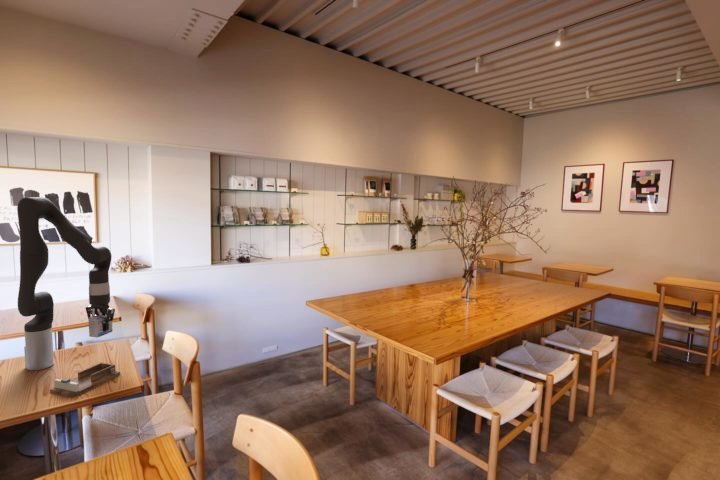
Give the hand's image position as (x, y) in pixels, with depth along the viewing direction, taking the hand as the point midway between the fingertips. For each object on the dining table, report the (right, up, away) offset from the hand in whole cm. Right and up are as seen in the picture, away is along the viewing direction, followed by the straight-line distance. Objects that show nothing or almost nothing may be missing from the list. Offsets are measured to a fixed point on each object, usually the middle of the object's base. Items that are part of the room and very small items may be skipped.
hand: (101, 330), depth 165 cm
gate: (0, -18, -20) cm, 27 cm away
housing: (+2, -19, -12) cm, 22 cm away
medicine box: (0, -2, 0) cm, 2 cm away
